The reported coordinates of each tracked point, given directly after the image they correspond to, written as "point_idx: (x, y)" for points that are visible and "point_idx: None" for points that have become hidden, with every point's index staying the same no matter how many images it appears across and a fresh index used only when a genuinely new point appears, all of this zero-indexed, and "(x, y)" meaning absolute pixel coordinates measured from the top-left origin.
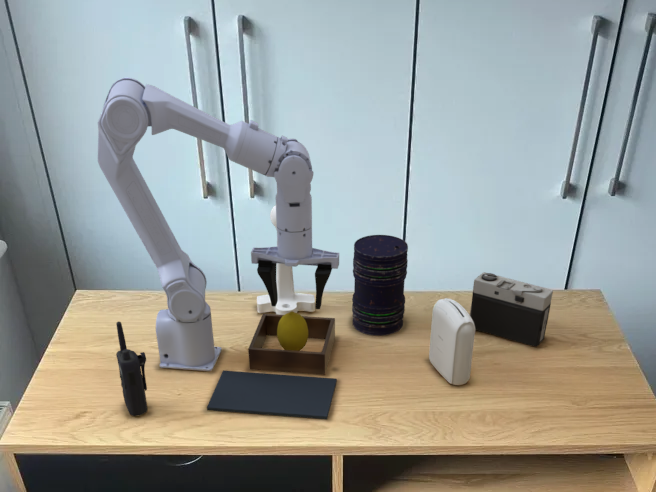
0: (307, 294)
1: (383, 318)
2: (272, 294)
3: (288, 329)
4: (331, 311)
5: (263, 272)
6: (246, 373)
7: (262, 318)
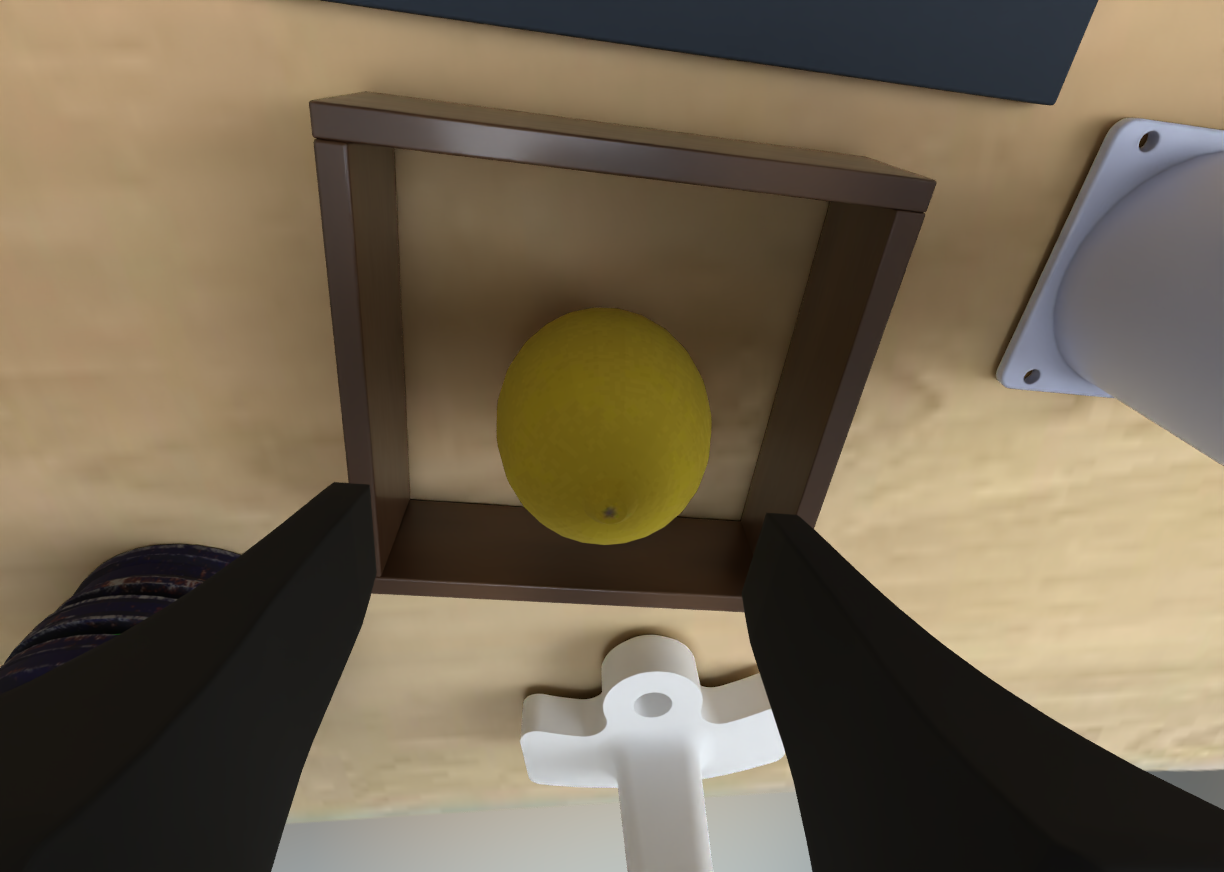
0: (559, 782)
1: (83, 617)
2: (837, 584)
3: (632, 369)
4: (452, 705)
5: (1201, 855)
6: (908, 57)
7: None
